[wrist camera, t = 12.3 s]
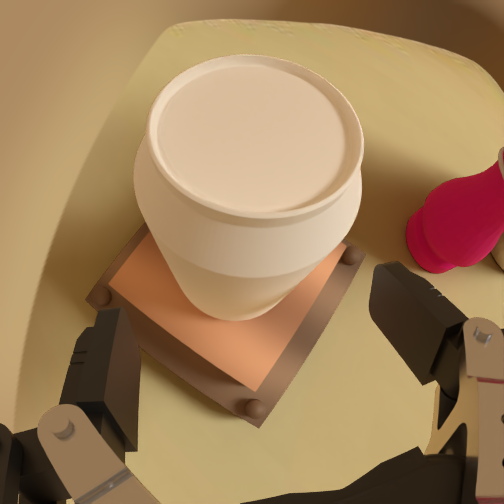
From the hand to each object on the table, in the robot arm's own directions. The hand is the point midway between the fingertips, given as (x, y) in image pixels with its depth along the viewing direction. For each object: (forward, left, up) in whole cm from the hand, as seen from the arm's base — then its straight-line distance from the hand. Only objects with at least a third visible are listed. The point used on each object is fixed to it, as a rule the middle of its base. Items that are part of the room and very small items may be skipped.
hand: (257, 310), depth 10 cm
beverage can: (-3, -2, -8) cm, 8 cm away
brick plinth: (-3, -3, -13) cm, 14 cm away
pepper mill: (-17, +10, -14) cm, 24 cm away
